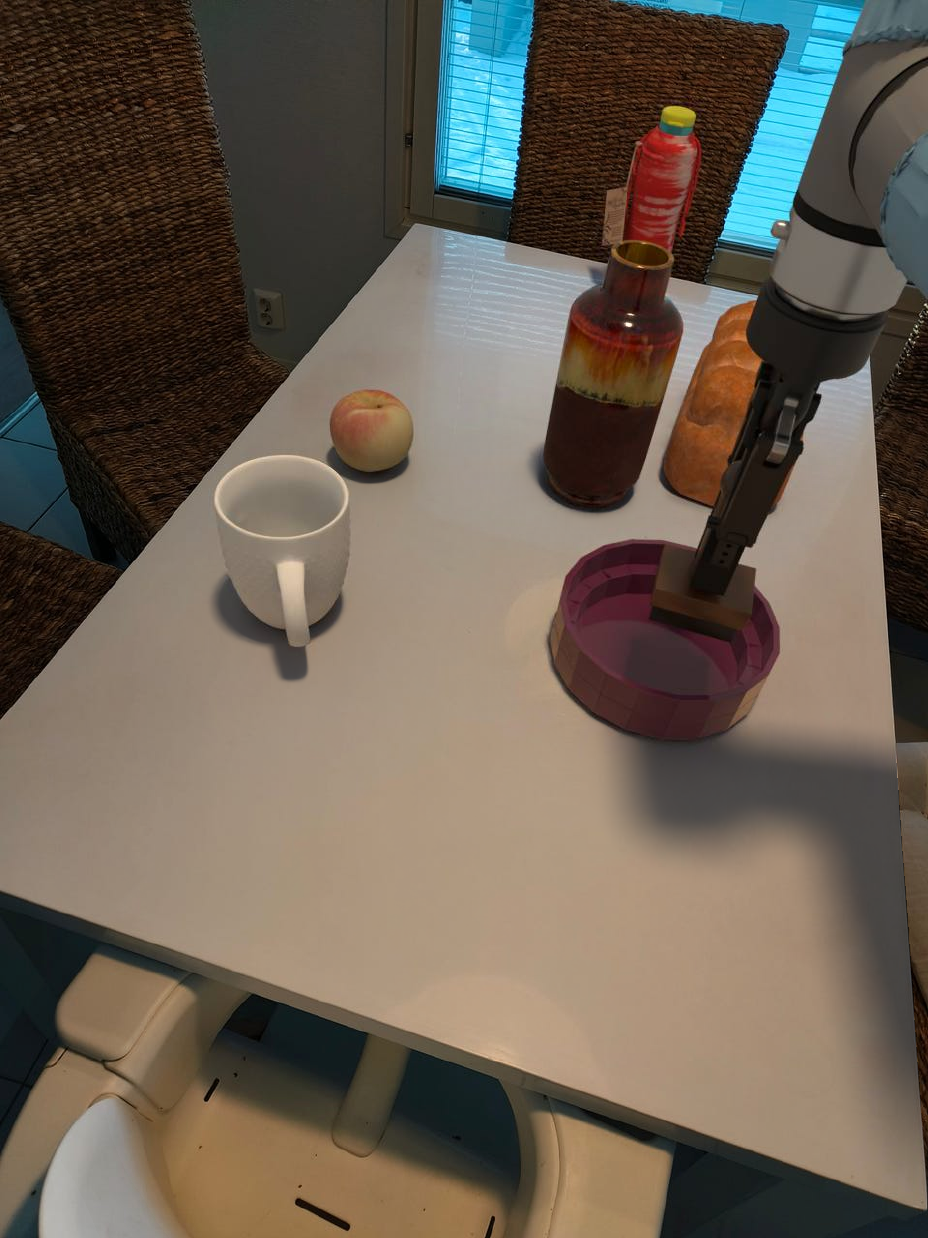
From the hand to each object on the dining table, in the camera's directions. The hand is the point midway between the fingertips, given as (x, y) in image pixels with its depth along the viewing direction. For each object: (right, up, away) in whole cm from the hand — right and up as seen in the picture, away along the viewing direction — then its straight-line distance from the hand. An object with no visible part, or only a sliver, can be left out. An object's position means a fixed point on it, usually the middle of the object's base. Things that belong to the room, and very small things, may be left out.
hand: (709, 573), depth 68 cm
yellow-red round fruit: (-30, +14, +27) cm, 43 cm away
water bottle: (+5, +46, +62) cm, 77 cm away
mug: (-35, -3, +11) cm, 37 cm away
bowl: (-2, -7, +11) cm, 13 cm away
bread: (+13, +17, +36) cm, 42 cm away
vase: (-6, +11, +28) cm, 31 cm away
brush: (0, -3, +3) cm, 5 cm away
